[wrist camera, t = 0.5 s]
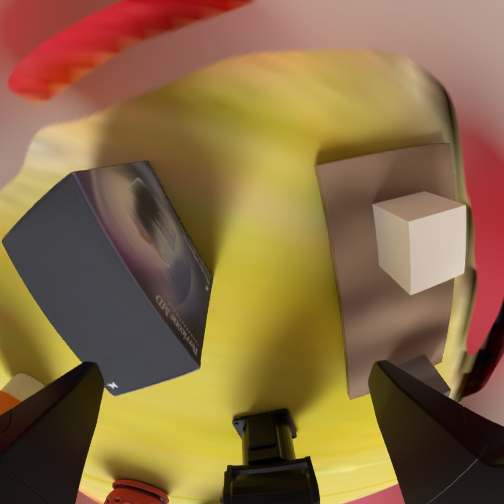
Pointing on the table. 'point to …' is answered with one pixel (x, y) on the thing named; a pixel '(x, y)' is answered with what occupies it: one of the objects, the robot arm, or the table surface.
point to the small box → (116, 274)
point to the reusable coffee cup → (18, 391)
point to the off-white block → (421, 239)
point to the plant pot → (135, 493)
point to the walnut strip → (373, 276)
